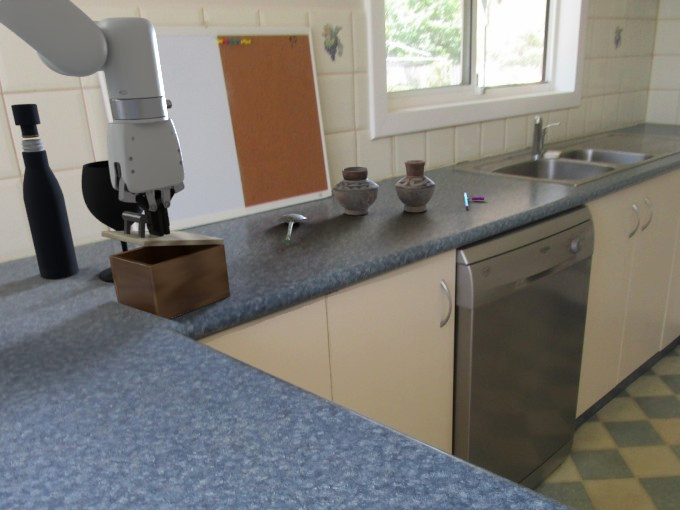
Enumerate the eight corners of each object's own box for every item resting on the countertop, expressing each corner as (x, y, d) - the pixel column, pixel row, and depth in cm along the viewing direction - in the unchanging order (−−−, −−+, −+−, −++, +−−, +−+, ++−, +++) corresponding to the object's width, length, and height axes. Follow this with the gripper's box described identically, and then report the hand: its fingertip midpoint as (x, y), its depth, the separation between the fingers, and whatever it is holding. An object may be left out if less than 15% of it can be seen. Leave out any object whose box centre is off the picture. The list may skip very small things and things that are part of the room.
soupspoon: (308, 223, 156) (280, 225, 156) (306, 209, 155) (278, 211, 155) (302, 245, 136) (270, 248, 135) (300, 229, 134) (268, 232, 134)
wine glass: (128, 285, 115) (107, 170, 108) (85, 278, 119) (63, 166, 112) (171, 268, 124) (155, 160, 117) (130, 262, 128) (112, 157, 121)
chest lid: (144, 246, 94) (145, 216, 93) (101, 236, 100) (101, 208, 99) (223, 244, 106) (225, 217, 105) (181, 235, 112) (182, 210, 111)
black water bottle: (53, 281, 118) (15, 106, 107) (33, 275, 121) (-6, 105, 111) (86, 271, 123) (52, 103, 112) (66, 266, 126) (32, 102, 116)
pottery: (439, 214, 159) (439, 164, 155) (334, 219, 156) (331, 168, 152) (431, 204, 169) (431, 156, 165) (333, 208, 167) (330, 160, 163)
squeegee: (486, 205, 163) (466, 205, 163) (486, 208, 163) (466, 208, 164) (482, 192, 177) (464, 192, 177) (482, 195, 177) (464, 195, 178)
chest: (160, 323, 99) (151, 267, 96) (118, 309, 105) (108, 255, 101) (230, 295, 109) (224, 244, 106) (189, 284, 115) (182, 235, 112)
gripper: (166, 105, 103) (184, 220, 110) (76, 114, 92) (101, 242, 98) (198, 106, 99) (214, 226, 106) (107, 116, 88) (131, 250, 94)
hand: (159, 233), depth 102 cm, fingers closed
